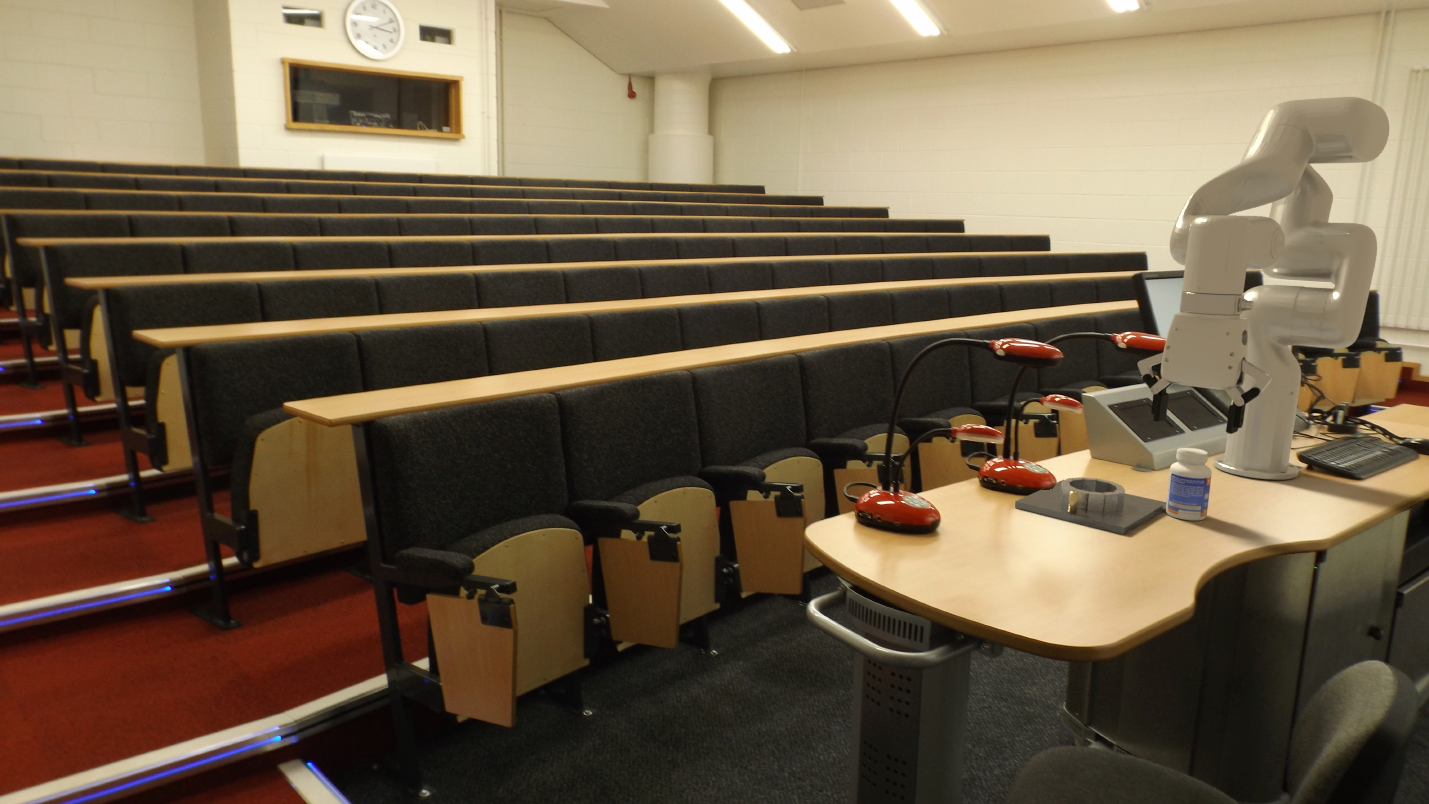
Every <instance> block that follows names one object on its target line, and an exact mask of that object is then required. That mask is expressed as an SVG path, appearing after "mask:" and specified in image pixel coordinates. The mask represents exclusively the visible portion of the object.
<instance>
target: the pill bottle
mask: <svg viewBox="0 0 1429 804" xmlns="http://www.w3.org/2000/svg"><path fill="white" fill-rule="evenodd" d="M1208 457H1209V453H1208V452H1207V450H1203V449H1200V448H1194V447H1180V448H1177V450H1176V456H1175V458H1176V460H1177V461H1176V462H1174V463H1172V464H1171V465H1170V467H1169V476H1168V487H1167V497H1166V502H1167V504H1166V510H1165V512H1166V514H1167V515H1168V516H1169V517H1173V518H1175V519H1179V520H1185V521H1191V522H1192V521H1202V520H1205V519H1206V518H1207V514H1208V508H1209V499H1210V491H1211V481H1212V472H1213V471H1212V469H1211V468H1210V467H1209V466H1208V465H1206V464H1207V463H1208Z"/></svg>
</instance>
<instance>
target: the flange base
mask: <svg viewBox="0 0 1429 804" xmlns="http://www.w3.org/2000/svg"><path fill="white" fill-rule="evenodd" d="M1055 483H1056V486H1055V487H1054V488H1053V489H1050V490H1042V489H1040V490H1038V491H1036V492H1033V493H1031V494H1029V495H1026V496H1025V497H1022V498H1020V499H1017V500H1016V501H1015V502H1014V509H1019V510H1023V511H1027V512H1030V513H1034V514H1039V515H1042V516H1045V517H1046V516H1047V517H1051V518H1055V519H1059V520H1063V521H1066V522H1069V523H1070V522H1071V523H1074V524H1079V525H1083V526H1087V527H1091V528H1094V529H1099V530H1103V531H1107V532H1111V533H1115V534H1120V535H1123V536H1124V535H1126V534H1128V533H1130V532H1131V531H1133V530H1134V529H1137V528H1138V527H1139V526H1141V525H1142V524H1144V523H1146V522H1148V521H1149V520H1150V519H1152V518H1154V517H1156V516H1157V515H1159V514H1161V513H1162V512H1164V511H1166V504H1167V501H1162V500H1156V499H1153V498H1147V497H1143V496H1140V495H1139V496H1138V495H1135V494H1129V493H1126V489H1125V488H1124V486H1123V485H1121V484H1118V483H1117V482H1114V481H1111V480H1110V481H1109V480H1108V479H1107V480H1105V479H1102V478H1094V477H1082V476H1081V477H1070V478H1066V479H1061V480H1060V481H1057V482H1055Z"/></svg>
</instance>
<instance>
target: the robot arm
mask: <svg viewBox="0 0 1429 804" xmlns="http://www.w3.org/2000/svg"><path fill="white" fill-rule="evenodd" d="M1389 136H1390V120H1389V118H1388V115H1387V113H1386V111H1385V109H1384V108H1382V107H1381V106H1380V105H1378V104H1376V103H1374V101H1373V102H1372V101H1371V100H1369V99H1366V98H1362V97H1356V96H1341V97H1337V96H1336V97H1324V98H1321V97H1320V98H1307V99H1294V100H1287V101H1284V102H1282V103H1278V104H1275V105H1274V106H1272V107H1270V109H1268V110H1267V111H1266V112H1265V114H1264V115H1263V117H1262V118H1261V120H1260V122H1259V124H1258V126H1257V128H1256V129H1255V132H1254V134H1253V135H1252V137H1251V140H1250V142H1249V144H1248V146H1247V148H1246V150H1245V152H1244V154H1243V156H1242V158H1241V160H1240V162H1239V163H1238V164H1237V165H1234V166H1232V167H1230V168H1228V169H1226V170H1225V171H1223V172H1221V173H1220V174H1218V175H1216V176H1215V177H1213V178H1212V179H1210V180H1208V181H1207V182H1204V183H1203V184H1202V185H1201V186H1199V187H1198V188H1197V189H1195V190H1194V191H1193V192H1192V194H1191V195H1190V196H1189V197H1188V198H1187V200H1186V201H1185V203H1184V205H1183V207H1182V209H1181V211H1180V212H1179V215H1178V216H1177V219H1176V221H1175V222H1174V225H1173V228H1172V231H1171V234H1170V239H1169V251H1170V255H1171V257H1172V259H1173V261H1175V262H1176V263H1177V264H1179V265H1182V266H1184V272H1183V279H1182V288H1181V296H1180V305H1179V312H1178V313H1174V314H1173V317H1172V320H1171V323H1170V325H1169V329H1168V332H1167V336H1166V339H1165V344H1164V348H1163V352H1161V353H1157V354H1155V355H1153V356H1150V357H1146V358H1144V359H1142V360H1139V361H1138V362H1137V363H1136V364H1137V368H1138V370H1139V373H1140V375H1141V376H1142V382H1144V384H1145V385H1146V386H1147V387H1148V388H1149V390H1150V393H1151V394H1153V395H1152V403H1151V411H1150V412H1151V415H1153V419H1152V420H1153V422H1155V423H1159V422H1161V421H1165V420H1166V419H1167V415H1168V414H1167V413H1168V405H1169V397H1170V394H1169V393H1168V392H1167V389H1169V388H1170V387H1171V386H1172V385H1173V384H1174V385H1179V386H1180V385H1181V386H1188V387H1196V388H1203V389H1210V390H1219V391H1220V390H1222V391H1225V392H1226V394H1227V396H1228V397H1229V398H1230V399H1231V405H1229V406H1228V407H1229V408H1228V414H1227V420H1226V427H1225V432H1226V433H1227V435H1226V436H1227V437H1226V442H1225V444H1226V445H1225V451H1224V454H1220V455H1217V456H1215V457H1214V459H1213V466H1214V467H1215V468H1216V469H1219V470H1220V471H1223V472H1225V473H1229V474H1232V475H1236V476H1241V477H1245V478H1250V479H1251V478H1252V479H1258V480H1259V479H1261V480H1270V481H1271V480H1273V481H1274V480H1275V481H1276V480H1277V481H1279V480H1280V481H1281V480H1282V481H1283V480H1290V479H1295V478H1297V477H1298V476H1299V472H1300V471H1299V468H1298V467H1297V466H1296V465H1295V464H1293V463H1291V462H1290V456H1291V451H1292V443H1293V435H1294V429H1295V428H1294V427H1295V422H1296V415H1297V408H1298V403H1299V394H1300V387H1301V383H1302V382H1301V381H1302V380H1301V379H1302V371H1301V370H1302V369H1301V366H1300V364H1299V360H1298V359H1296V357H1295V355H1294V354H1293V352H1292V351H1291V350H1290V349H1291V348H1289V346H1300V347H1301V346H1302V347H1310V348H1311V347H1312V348H1313V347H1314V348H1320V349H1321V348H1324V349H1325V348H1326V349H1345V348H1348V347H1350V346H1352V345H1353V344H1354V343H1355V342H1356V341H1357V339H1358V338H1359V334H1360V333H1361V329H1362V325H1363V321H1364V316H1365V314H1366V313H1365V312H1366V308H1367V303H1368V299H1369V294H1370V289H1371V284H1372V282H1373V281H1372V280H1373V276H1374V272H1375V268H1376V261H1377V254H1378V241H1377V236H1376V233H1375V232H1374V230H1373V229H1372V228H1371V227H1369V226H1367V225H1365V224H1362V223H1355V222H1354V223H1353V222H1329V219H1330V214H1331V209H1332V206H1333V202H1334V194H1333V191H1332V189H1331V188H1330V186H1329V185H1328V183H1327V182H1326V180H1325V179H1324V177H1322V175H1321V174H1320V173H1319V172H1317V170H1315V168H1314V167H1313V166H1312V165H1311V164H1318V165H1319V164H1358V163H1359V164H1360V163H1368V162H1372V161H1374V160H1376V159H1377V158H1378V157H1379V156H1380V155H1381V154H1382V153H1383V151H1384V150H1385V148H1386V146H1387V143H1388V140H1389ZM1268 204H1271V208H1270V212H1269V216H1264V215H1263V216H1261V215H1259V216H1258V215H1232V214H1236V213H1239V212H1243V211H1247V210H1252V209H1255V208H1259V207H1263V206H1265V205H1268ZM1247 270H1248V271H1249V270H1250V271H1252V270H1253V271H1256V270H1261V271H1262V272H1263V274H1264V275H1266V276H1268V277H1270V278H1273V279H1279V280H1285V281H1286V280H1287V281H1302V282H1303V281H1304V282H1317V283H1318V282H1320V283H1330V284H1333V285H1334V287H1333V288H1328V287H1315V286H1314V287H1311V286H1301V285H1286V284H1285V285H1284V284H1264V285H1258V286H1254V287H1251V288H1250V289H1248V290H1246V291H1245V290H1244V288H1245V281H1246V277H1247ZM1244 291H1245V292H1244ZM1159 364H1161V365H1160V377H1161V378H1160V379H1158V377H1157V376H1156V375H1155V374H1154V373H1153V369H1152V367H1153V366H1155V365H1159Z"/></svg>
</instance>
